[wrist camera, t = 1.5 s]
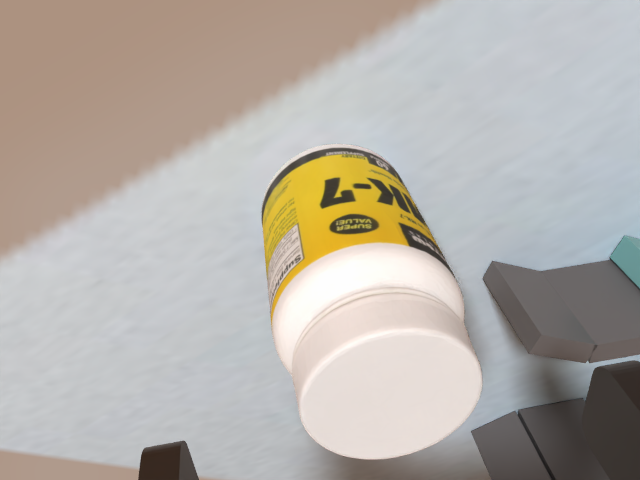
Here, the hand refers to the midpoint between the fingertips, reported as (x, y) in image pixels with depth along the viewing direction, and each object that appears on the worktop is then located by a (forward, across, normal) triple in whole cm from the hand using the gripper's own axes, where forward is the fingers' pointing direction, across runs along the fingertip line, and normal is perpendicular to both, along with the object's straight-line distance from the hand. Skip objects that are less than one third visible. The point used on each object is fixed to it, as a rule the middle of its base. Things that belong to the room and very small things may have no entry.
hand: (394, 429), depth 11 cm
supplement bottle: (+10, 0, 0) cm, 10 cm away
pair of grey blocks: (+9, -8, +9) cm, 15 cm away
